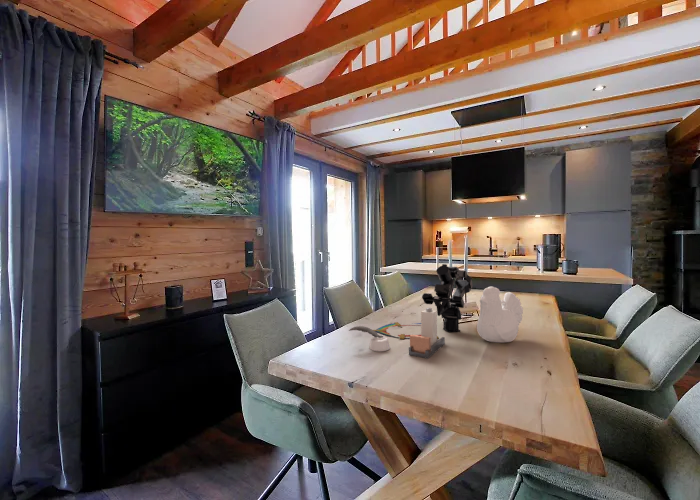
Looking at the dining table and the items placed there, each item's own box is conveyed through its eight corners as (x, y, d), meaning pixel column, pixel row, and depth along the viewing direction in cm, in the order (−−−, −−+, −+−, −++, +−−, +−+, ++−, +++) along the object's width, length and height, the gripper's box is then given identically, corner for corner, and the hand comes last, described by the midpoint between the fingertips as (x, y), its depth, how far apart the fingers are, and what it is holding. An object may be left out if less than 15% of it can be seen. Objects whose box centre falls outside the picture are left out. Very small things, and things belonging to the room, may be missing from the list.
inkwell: (392, 350, 137) (392, 327, 137) (350, 354, 134) (350, 330, 134) (386, 343, 146) (386, 321, 146) (347, 346, 143) (346, 324, 143)
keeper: (425, 341, 143) (425, 306, 142) (437, 343, 140) (436, 308, 139) (421, 344, 139) (421, 309, 138) (432, 346, 136) (432, 310, 135)
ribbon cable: (374, 340, 152) (438, 339, 151) (374, 338, 152) (438, 337, 151) (371, 324, 181) (425, 323, 180) (371, 322, 181) (425, 321, 180)
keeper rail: (427, 341, 148) (427, 324, 148) (444, 344, 144) (444, 327, 143) (408, 354, 132) (408, 336, 132) (427, 358, 127) (427, 339, 127)
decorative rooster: (490, 349, 137) (490, 290, 135) (468, 337, 152) (468, 284, 151) (540, 343, 142) (541, 286, 141) (515, 333, 157) (515, 282, 156)
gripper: (423, 276, 157) (414, 303, 149) (462, 278, 147) (455, 307, 138) (429, 290, 164) (421, 316, 156) (467, 293, 154) (460, 321, 145)
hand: (438, 315), depth 148 cm, fingers closed
